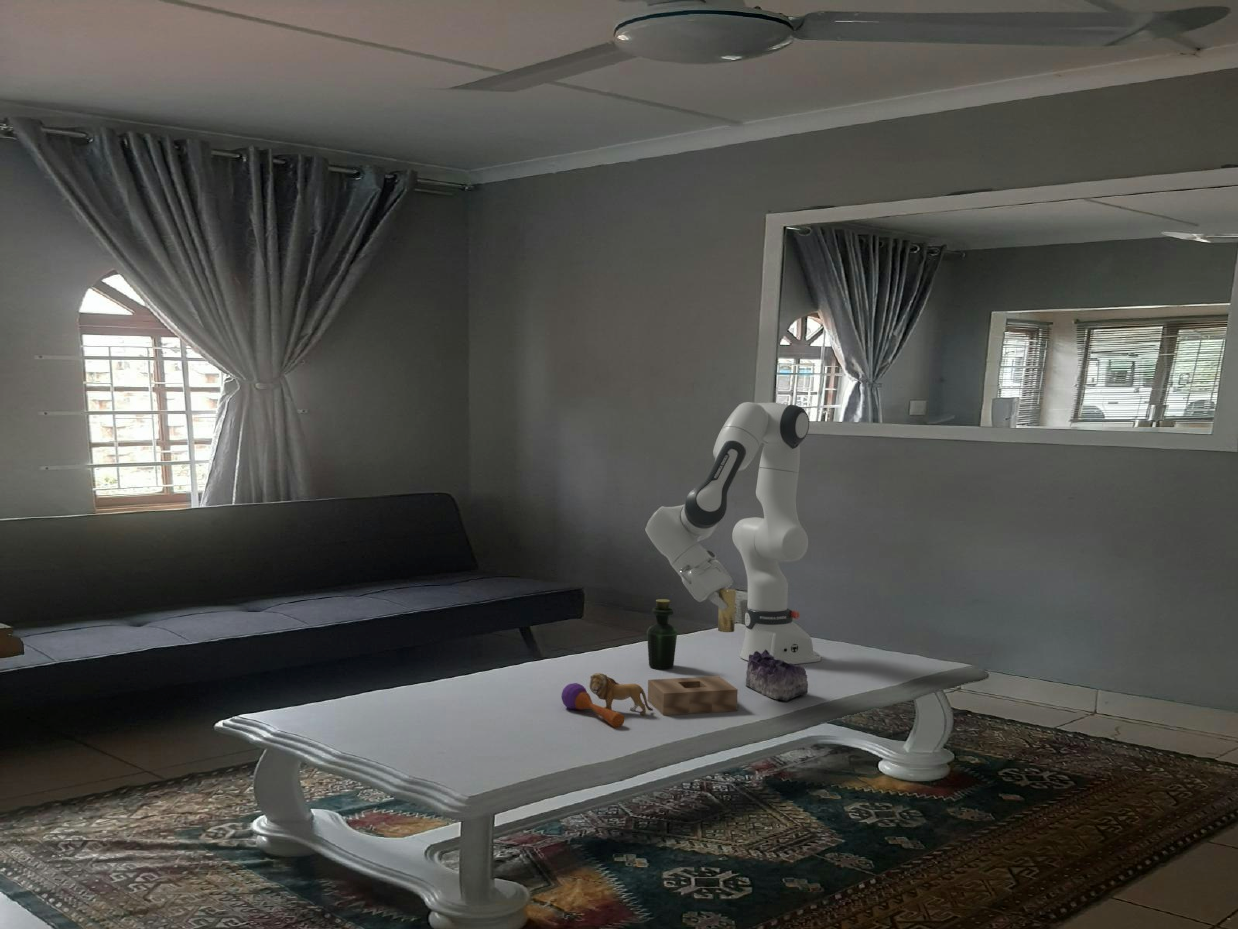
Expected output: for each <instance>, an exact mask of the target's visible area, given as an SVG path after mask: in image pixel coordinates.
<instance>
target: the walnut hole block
mask: <svg viewBox="0 0 1238 929" xmlns="http://www.w3.org/2000/svg"><path fill="white" fill-rule="evenodd" d="M738 691H739V690H738V688H736V687H735V686H734V685H732V684H731V683H729V682H728V681H727V680H725V679H724V678H722V677H721V676H720V675H719V676H718V675H716V676H700V677H697V676H696V677H679V678H676V677H675V678H658V679H657V678H656V679H648V680H647V702H648V703H650V704H651V705H652V706H653V707H654V708H655V710H657V711H659V713H660V714H662V715H663V716H669V715H672V716H673V715H687V714H701V713H702V714H703V713H720V712H736V711H738Z"/></svg>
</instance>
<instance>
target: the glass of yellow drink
mask: <svg viewBox="0 0 1238 929" xmlns="http://www.w3.org/2000/svg"><path fill="white" fill-rule="evenodd" d="M736 592H737V590H736V589H733V588H727V589H720V590H719V593H718V596H719V597H720V598H721V599H722V600H723V601H724V600H725V602H726V603H727V604H728V608H726V609H725V610H724V611H722V610H721V609H720V608H719V607H718V618H717V619H718V620H717V631H719V632H721V633H734V632H735V628H736V627H735V622H736Z"/></svg>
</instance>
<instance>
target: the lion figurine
mask: <svg viewBox="0 0 1238 929" xmlns="http://www.w3.org/2000/svg"><path fill="white" fill-rule="evenodd" d="M589 677H590V680H589V690H590V691H591V692H592V693H593V694H594V695H596V696H597V698H598V700H599V699H600V700H603V701H605V707H603V708H606V709H609V710H612V709H613V708H612V704H613V701H614V700H616V701H624V700H627V699H629V698H631V701H632V702H633V704H634V705H633V707H630V709H629V711H631V712H634V711H636V710H637V708H640V709H641V710H640V712H639V714H640V715H641V716H645V715H646V714H647V712H646V710H648V711H649V712H650V711H652V712H653V711H654V709H653V708H652V707H651V706H649V704H648V699H647V696H646V693H645V690H644V689H643V687H642V686H640V685H639V684H637V683H627V684H623V683H619V682H617V681H616V680H615V679H614V678H612V677H610V676H607V674H604V673H601V672H596V673H593V674H592V675H590V676H589ZM641 694H642V698H643V701H644V702H643V701H642V698H641ZM646 708H647V709H646ZM612 711H613V710H612Z"/></svg>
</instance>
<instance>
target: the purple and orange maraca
mask: <svg viewBox="0 0 1238 929" xmlns="http://www.w3.org/2000/svg"><path fill="white" fill-rule="evenodd" d="M560 696H561V701H562V703H563V705H564V706H565V707H566V708H567V709H569V710H580V711H581V710H587V709H590V710H592V711H593V712H594V713H596V714H597V715H598V716H599V717H600V718H602V719H603V720H604V721H606V722H607V723H608V724H609V725H610V726H611V727H613V728H615V729H616V728H619V727H620V728H621V727H622V726H623V725H624V722H625V716H624V714H622V713H620V712H618V711H615V710H609V709H606V708H604V707H603V706H600V705H598V704H594V703H593V701H592V698H591V696H590V694H589V693H588V692H587V689H586V688H585V686H584V685H582V684H580V683H578V682H574V683H569V684H567V685H566V686H565V687H564V688H563V689H562V692H561V695H560Z"/></svg>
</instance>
